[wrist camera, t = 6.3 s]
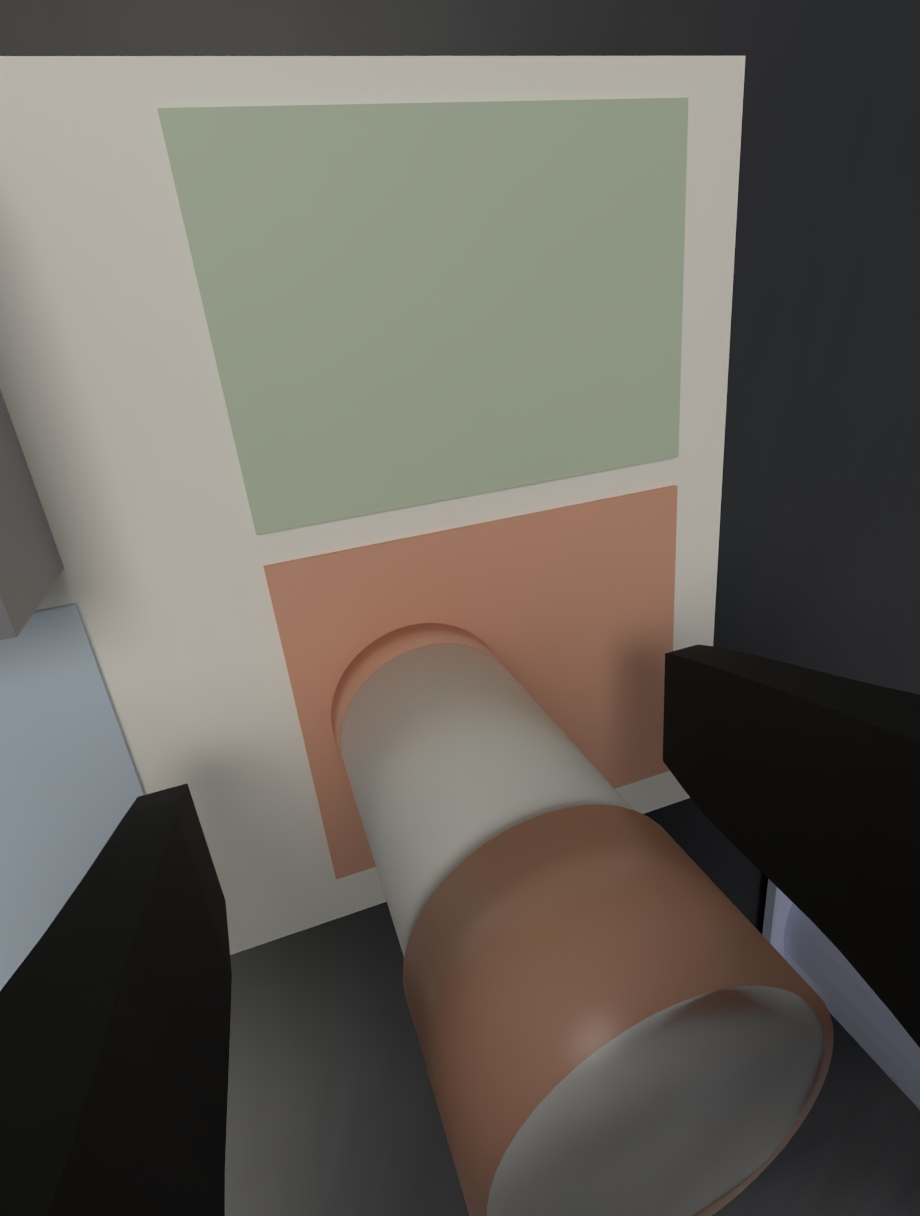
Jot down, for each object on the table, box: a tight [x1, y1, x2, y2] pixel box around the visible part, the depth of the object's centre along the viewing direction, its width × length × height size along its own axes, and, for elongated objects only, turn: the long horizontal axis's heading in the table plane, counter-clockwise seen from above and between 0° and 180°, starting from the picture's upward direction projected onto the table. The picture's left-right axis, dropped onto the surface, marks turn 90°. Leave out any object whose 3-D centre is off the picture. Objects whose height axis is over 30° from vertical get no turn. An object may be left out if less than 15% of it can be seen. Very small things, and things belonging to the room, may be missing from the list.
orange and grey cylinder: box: [331, 623, 834, 1216], centre depth 8 cm, size 3×3×7 cm
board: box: [0, 56, 745, 991], centre depth 10 cm, size 16×13×1 cm
